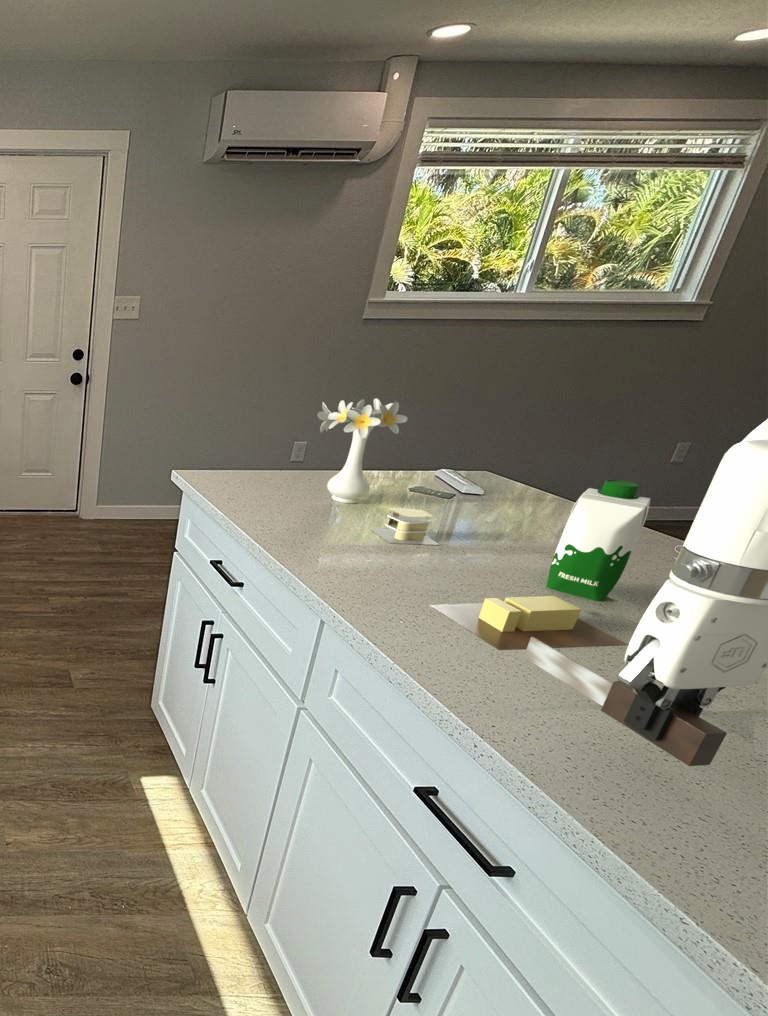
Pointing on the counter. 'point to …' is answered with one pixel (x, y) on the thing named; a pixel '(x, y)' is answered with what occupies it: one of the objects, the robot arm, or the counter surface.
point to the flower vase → (357, 443)
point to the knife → (683, 732)
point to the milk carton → (598, 540)
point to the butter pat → (499, 614)
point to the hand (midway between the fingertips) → (654, 730)
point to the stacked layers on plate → (406, 527)
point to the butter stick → (544, 613)
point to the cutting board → (520, 639)
